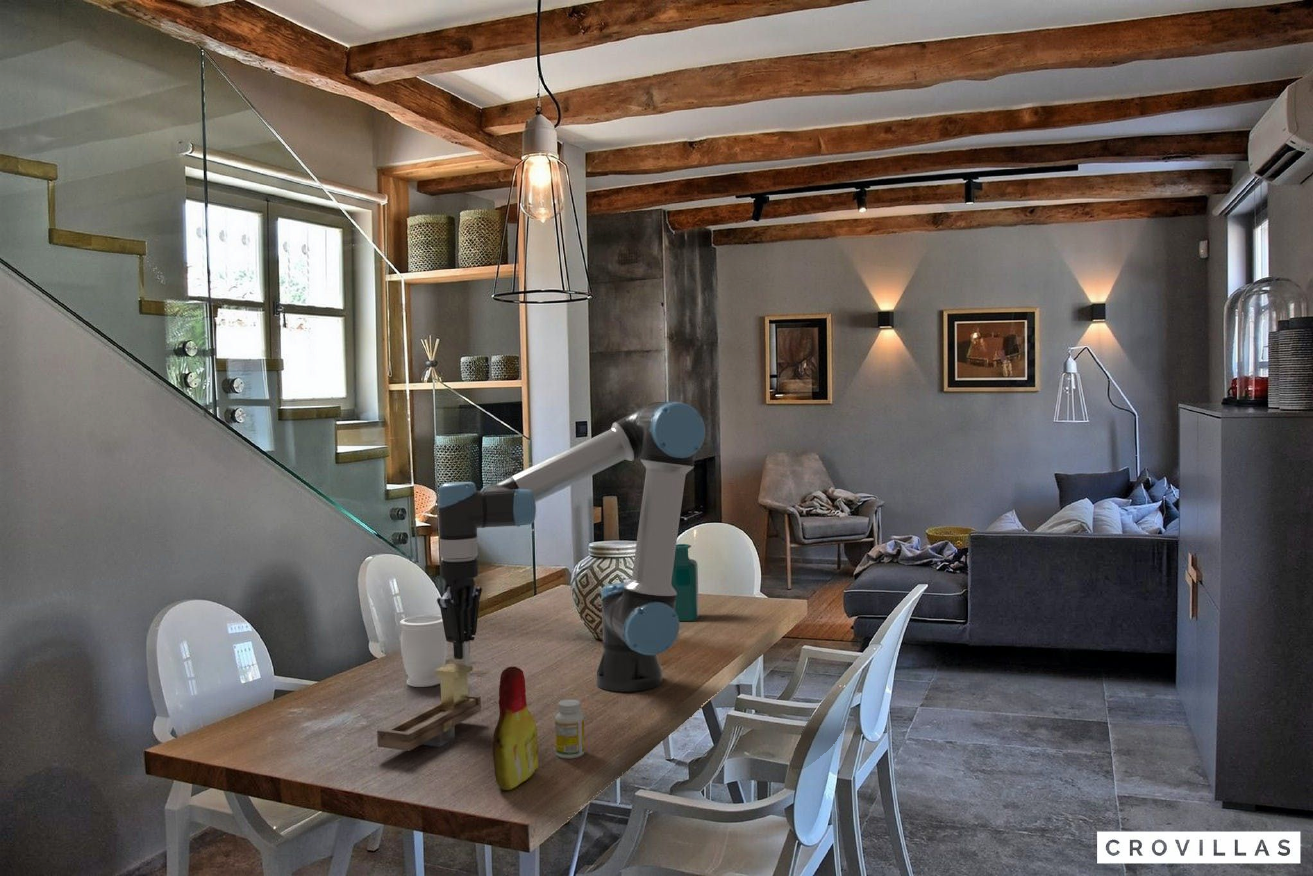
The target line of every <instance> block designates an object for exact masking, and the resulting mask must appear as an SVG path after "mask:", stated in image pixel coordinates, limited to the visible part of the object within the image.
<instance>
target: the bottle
mask: <svg viewBox="0 0 1313 876" xmlns="http://www.w3.org/2000/svg"><path fill="white" fill-rule="evenodd" d="M499 678H500V679H499V680H500V681H499V688H498V709H499V717H498V720H497V721H498V722H497V723H496V726H495V728H494V731H493V738H492V739H493V742H492V743H493V744H492V751H493V752H492V755H493V766H494V767H493V768H494V775H495V781H496V784H497V786H498V788H500V789H501V790H505V791H506V790H507V791H511V790H512V789H515V788H516V787H518V786H519V785H520V784H522V783H523V782H525V781H527V780H529V778H530V777H531V776H532V775H533V774H534V773H535V770H536V769H538V768H539V744H538V729H537V723H536V721H535V719H534V717H533V715H532V713H531V711H529V709H528V704H527V694H526V693H527V689H526V679H525V675H524V670H523V669H521V668H520V667H517V666H508V667H506V668H505V669H504V670H502V672H501V674H500V677H499Z"/></svg>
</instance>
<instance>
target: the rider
mask: <svg viewBox="0 0 1313 876" xmlns="http://www.w3.org/2000/svg"><path fill="white" fill-rule="evenodd" d="M473 670H474V669H473V665H470V666H469V665H458V664H454V663H447V664H445V666H443V667H441V668H438V669H436V670H435V675H438V676H440V681H441V683H440V700H441V708H442V710H443V711H448V710H450V709H452V708H454V707H455V706H457V705H459V704H461V703H463V702H465V701H467V700H468V695H469V690H468V689H469V687H468V685H469V683H468V674H467V673H469V672H470V673H471V672H473ZM470 673H469V674H470Z"/></svg>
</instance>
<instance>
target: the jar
mask: <svg viewBox="0 0 1313 876" xmlns="http://www.w3.org/2000/svg"><path fill="white" fill-rule="evenodd" d="M399 625H400V627H401V628H402V631H401V634H400V635H401V637H400V651H401V652H400V653H401V657H402V660H403V661H402V662H403V667H404V671H405V672H406V675H407V676H408V678H407V680H406V684H407V686H409V687H415V688H425V687H427V688H428V687H433V686H437V685H441V681H440V676H438V675H435V670H436V669H438V668H441V667H443V666H445V665H446V661H447V651H448V641H446V637H445V632H444V626H443V621H442V615H437V614H436V615H435V614H423V615H413V616H408V617H406V618H403V619H401V620H400V621H399Z"/></svg>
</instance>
